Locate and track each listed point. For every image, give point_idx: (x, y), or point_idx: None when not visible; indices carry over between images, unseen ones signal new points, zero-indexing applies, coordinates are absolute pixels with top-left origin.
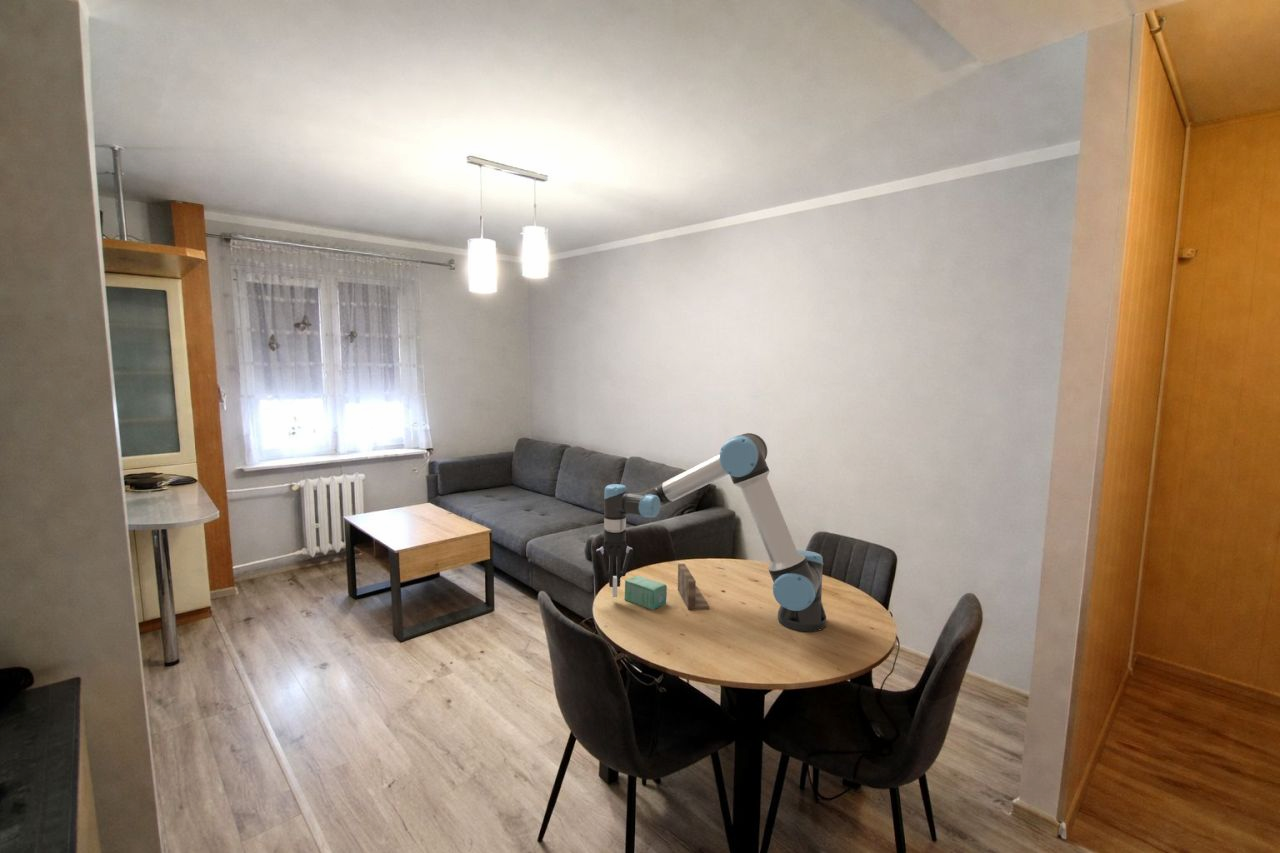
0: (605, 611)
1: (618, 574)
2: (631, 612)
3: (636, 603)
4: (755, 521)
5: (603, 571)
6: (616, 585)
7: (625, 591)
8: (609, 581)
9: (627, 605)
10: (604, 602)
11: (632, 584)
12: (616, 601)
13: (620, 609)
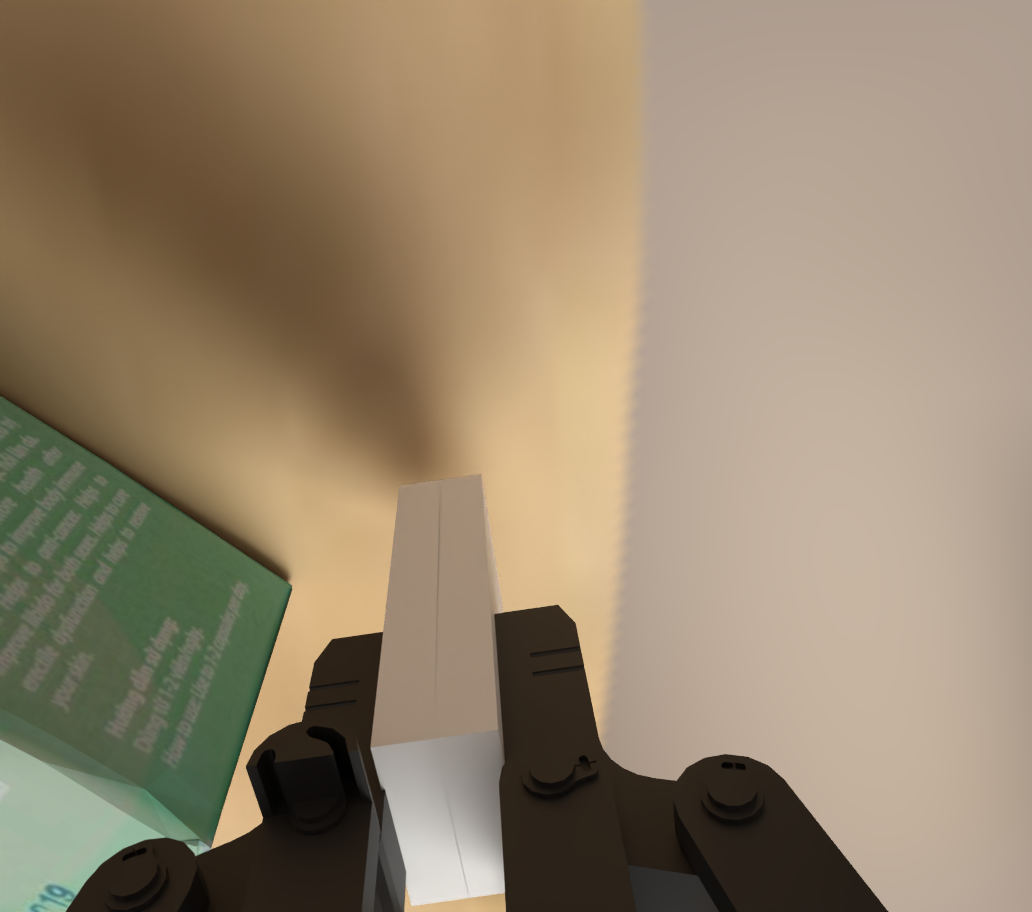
0: (595, 109)
1: (317, 870)
2: (81, 69)
3: (55, 435)
4: None
5: (878, 902)
6: (400, 623)
7: (252, 665)
8: (587, 693)
9: (216, 385)
10: (617, 484)
11: (7, 700)
12: None
13: (319, 209)
